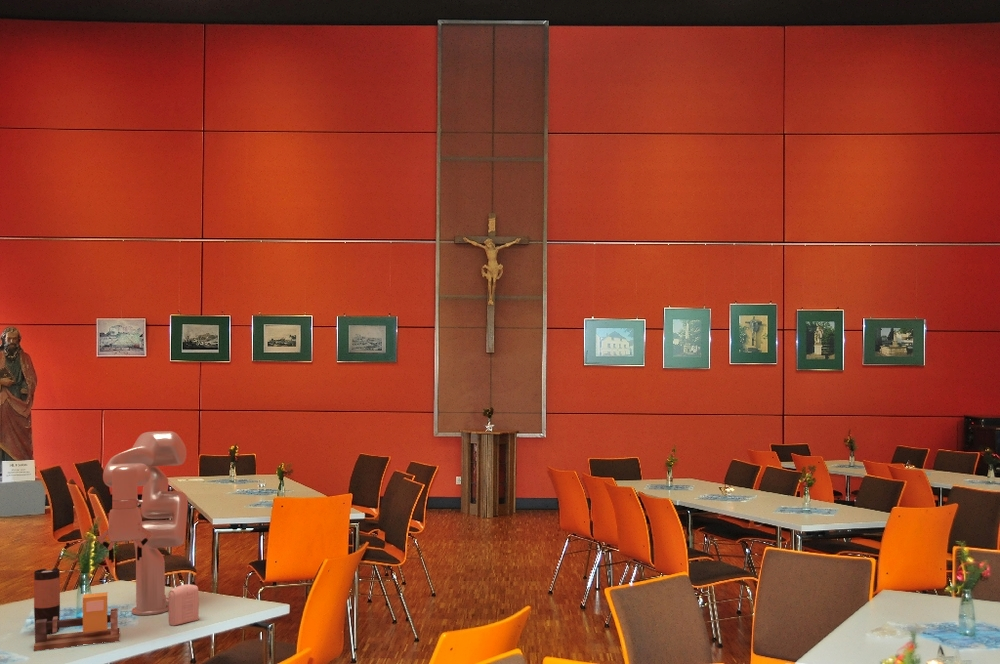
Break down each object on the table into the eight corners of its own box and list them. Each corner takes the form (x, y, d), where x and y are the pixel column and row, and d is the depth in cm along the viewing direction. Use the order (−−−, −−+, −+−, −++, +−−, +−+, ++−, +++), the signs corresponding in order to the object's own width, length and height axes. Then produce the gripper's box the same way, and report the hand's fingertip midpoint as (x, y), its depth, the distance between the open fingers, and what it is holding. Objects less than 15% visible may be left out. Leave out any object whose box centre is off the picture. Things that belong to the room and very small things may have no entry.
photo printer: (192, 618, 327) (192, 581, 327) (200, 619, 324) (200, 582, 325) (166, 625, 318) (166, 587, 319) (174, 626, 316) (174, 588, 317)
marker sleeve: (107, 625, 306) (107, 592, 307) (107, 630, 301) (106, 595, 301) (83, 628, 304) (83, 594, 304) (82, 632, 298) (82, 598, 299)
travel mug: (43, 636, 307) (43, 573, 308) (29, 633, 312) (29, 571, 312) (65, 630, 314) (64, 569, 315) (50, 628, 318) (50, 567, 319)
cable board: (119, 632, 310) (119, 605, 311) (119, 641, 299) (118, 613, 300) (37, 641, 302) (37, 614, 302) (33, 651, 291) (33, 622, 291)
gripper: (153, 501, 314) (154, 556, 313) (96, 505, 308) (96, 561, 307) (154, 504, 307) (154, 560, 306) (95, 508, 301) (95, 565, 300)
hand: (125, 560), depth 307 cm, fingers open, 7 cm apart
